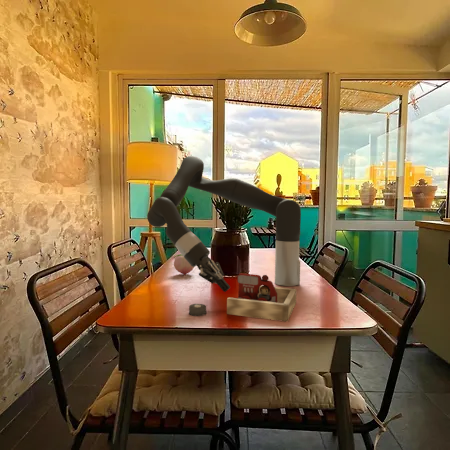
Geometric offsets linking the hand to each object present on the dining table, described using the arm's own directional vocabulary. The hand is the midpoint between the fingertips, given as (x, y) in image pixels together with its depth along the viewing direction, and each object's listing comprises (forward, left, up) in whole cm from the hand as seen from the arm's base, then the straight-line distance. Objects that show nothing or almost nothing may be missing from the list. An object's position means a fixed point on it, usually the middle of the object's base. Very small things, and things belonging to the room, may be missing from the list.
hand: (227, 289), depth 106 cm
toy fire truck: (-9, +3, -5) cm, 11 cm away
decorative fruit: (+18, -42, -5) cm, 46 cm away
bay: (-10, +3, -5) cm, 12 cm away
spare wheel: (+9, +8, -5) cm, 13 cm away
